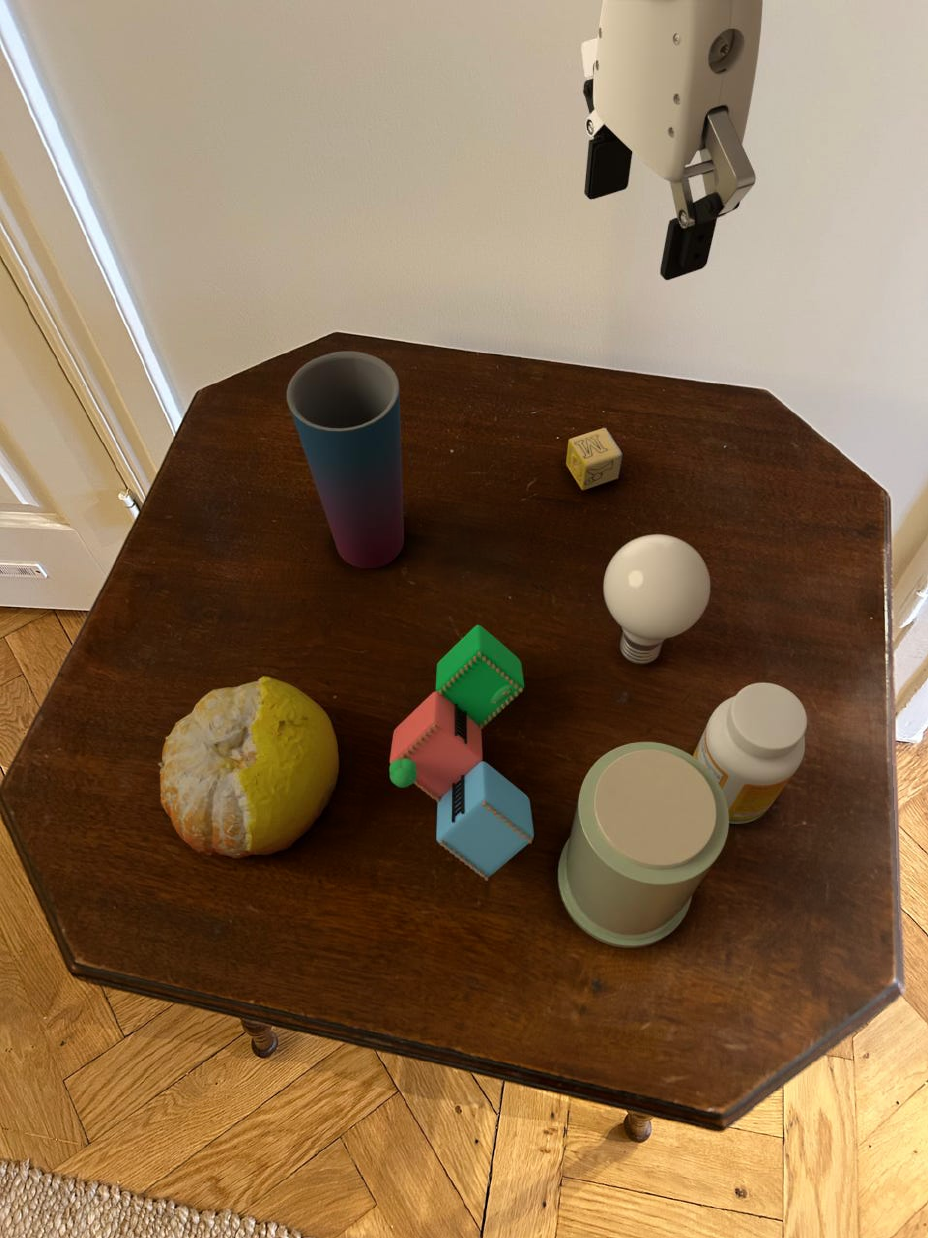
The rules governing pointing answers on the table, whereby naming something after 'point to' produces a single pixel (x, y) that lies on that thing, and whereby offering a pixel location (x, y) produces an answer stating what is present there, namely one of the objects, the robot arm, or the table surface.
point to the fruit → (249, 769)
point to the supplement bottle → (754, 747)
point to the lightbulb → (655, 593)
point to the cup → (353, 451)
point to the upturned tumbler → (641, 843)
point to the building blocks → (466, 754)
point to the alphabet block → (593, 458)
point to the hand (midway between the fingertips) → (642, 230)
